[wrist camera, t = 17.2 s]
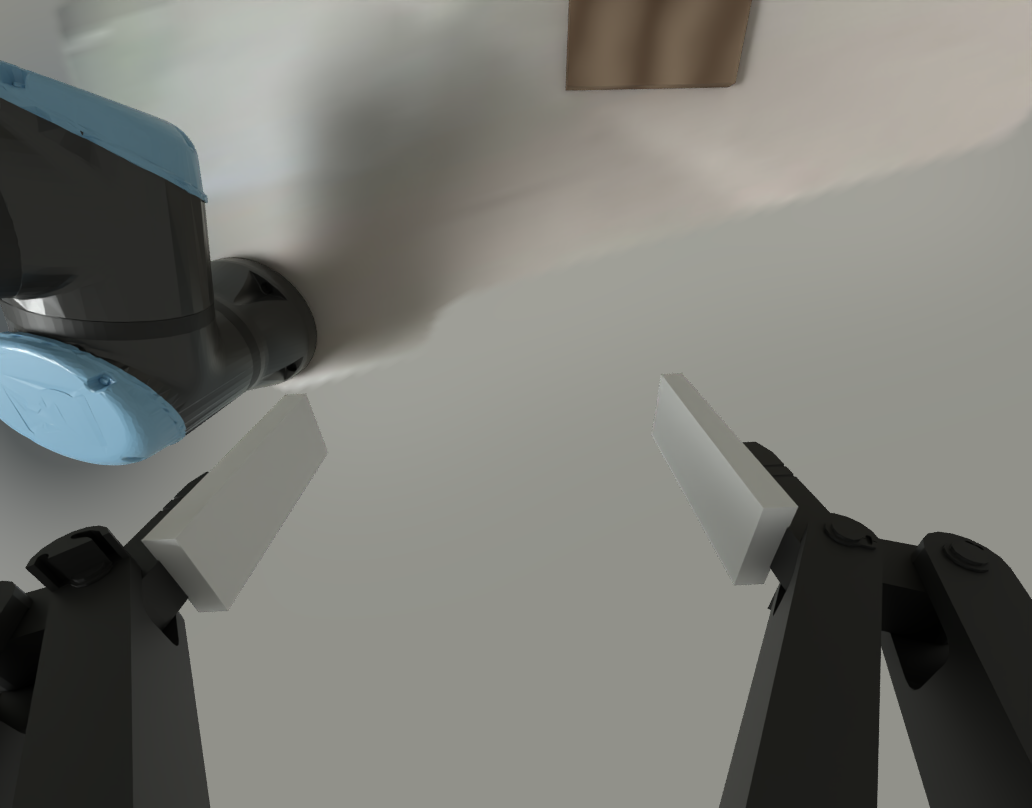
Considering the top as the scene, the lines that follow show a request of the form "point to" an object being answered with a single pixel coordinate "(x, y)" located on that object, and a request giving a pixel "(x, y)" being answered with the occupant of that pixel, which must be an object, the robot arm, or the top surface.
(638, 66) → the base board
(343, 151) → the top surface
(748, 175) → the top surface
